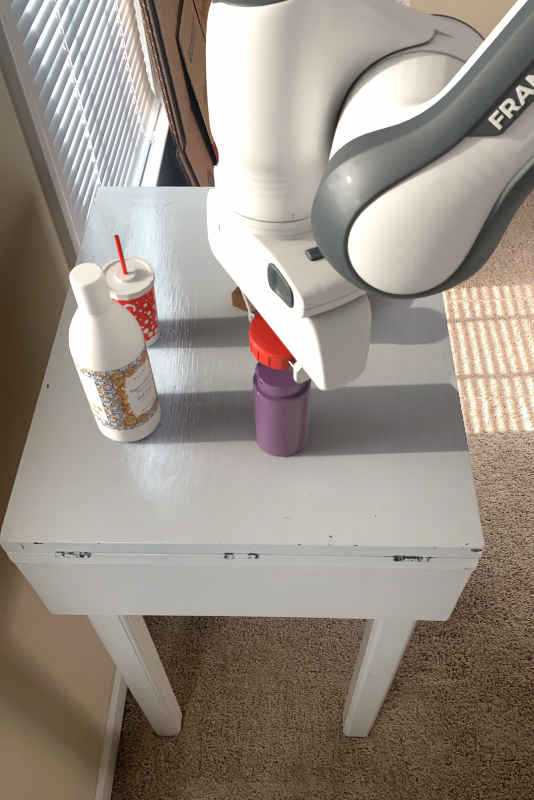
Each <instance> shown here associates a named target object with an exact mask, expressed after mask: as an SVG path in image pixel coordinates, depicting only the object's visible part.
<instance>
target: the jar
mask: <svg viewBox="0 0 534 800" xmlns="http://www.w3.org/2000/svg"><path fill="white" fill-rule="evenodd" d="M254 370H255V371H254V372H253V375H252V393H253V394H252V395H253V410H254V411H253V412H254V430H255V432H254V433H255V440H256V443H257V445H258V447H259V448H260V449H261V450H262V451H263V452H265V453H267V454H268V455H270V456H274V457H280V458H281V457H283V458H284V457H290V456H293V455H295V454H298V453H300V451H301V450H303V449H304V448H305V446H306V445H307V443H308V440H309V432H310V431H309V430H310V411H311V397H312V396H311V395H312V379H309V380H307V381H304V382H302V383H300V384H299V383H297V382H296V381H295V380H294V378H293V377H292V376H291V374H290V373H289V372H288V370H279V369H273V368H270V367H267V366H265V365H263V364H262V363H260V362H259V361H257V363H256V365H255V368H254Z"/></svg>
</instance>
